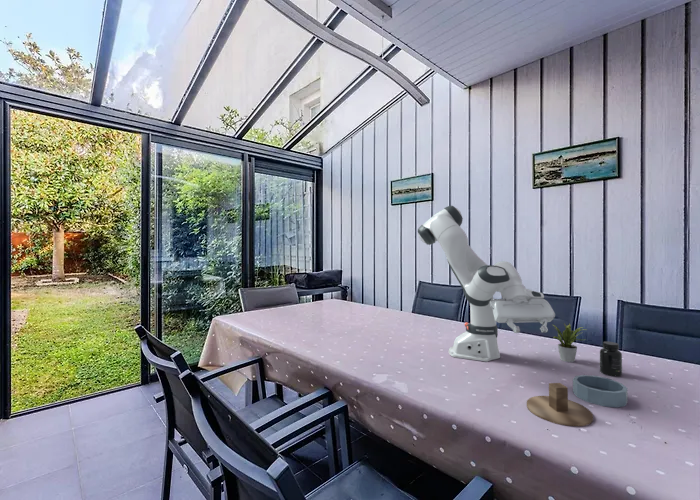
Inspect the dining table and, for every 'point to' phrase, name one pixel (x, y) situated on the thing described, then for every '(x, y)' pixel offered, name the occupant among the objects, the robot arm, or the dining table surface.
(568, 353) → the house plant
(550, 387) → the walnut lid
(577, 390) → the slate bowl
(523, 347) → the dining table surface
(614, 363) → the supplement bottle
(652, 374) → the dining table surface
